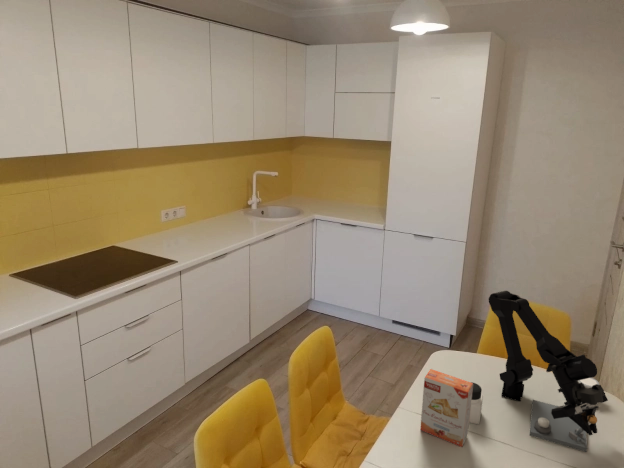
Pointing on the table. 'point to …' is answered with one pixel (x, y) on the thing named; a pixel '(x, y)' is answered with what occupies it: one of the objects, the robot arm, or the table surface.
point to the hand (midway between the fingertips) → (593, 434)
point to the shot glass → (588, 382)
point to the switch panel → (556, 427)
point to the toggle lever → (591, 420)
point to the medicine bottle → (476, 404)
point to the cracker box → (446, 407)
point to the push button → (543, 422)
